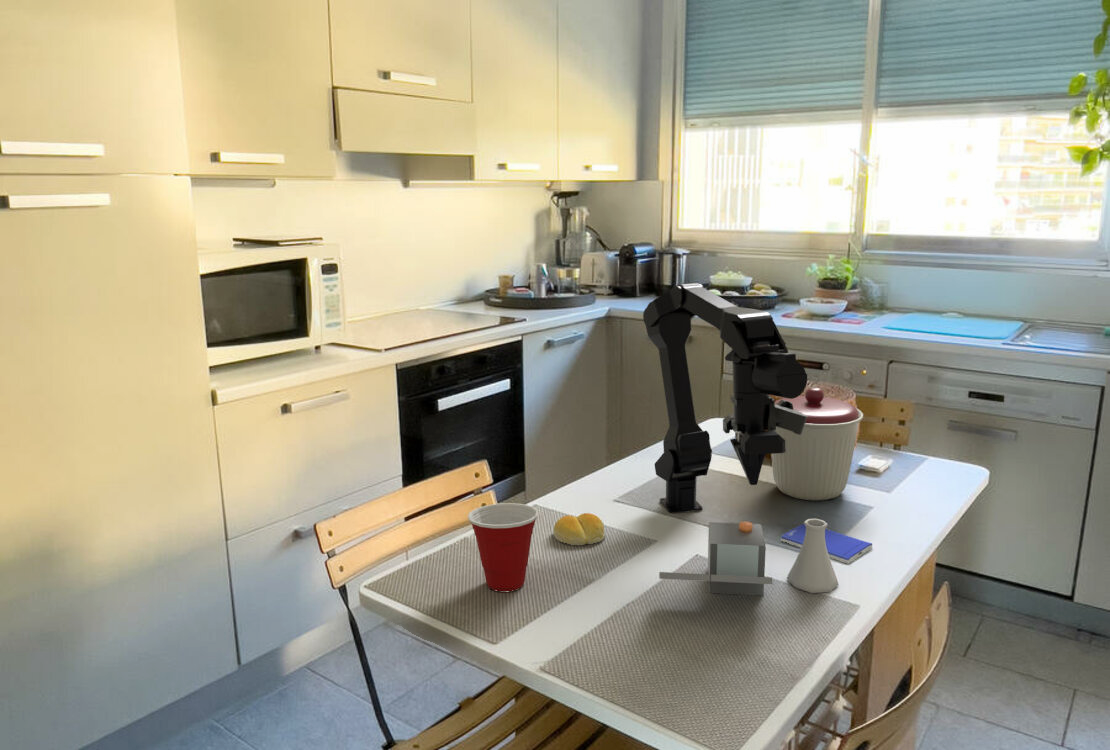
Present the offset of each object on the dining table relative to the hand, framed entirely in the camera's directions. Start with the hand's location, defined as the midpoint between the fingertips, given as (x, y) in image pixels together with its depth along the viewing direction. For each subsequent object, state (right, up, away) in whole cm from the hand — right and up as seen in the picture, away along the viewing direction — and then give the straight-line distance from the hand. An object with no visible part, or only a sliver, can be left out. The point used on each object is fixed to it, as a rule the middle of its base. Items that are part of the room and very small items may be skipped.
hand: (753, 484), depth 139 cm
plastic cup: (-40, -15, -7) cm, 43 cm away
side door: (-9, -12, -13) cm, 20 cm away
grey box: (-5, -14, -8) cm, 17 cm away
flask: (+7, -14, -8) cm, 18 cm away
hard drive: (+13, -12, +5) cm, 18 cm away
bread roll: (-28, -11, +10) cm, 32 cm away
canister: (+18, -5, +29) cm, 34 cm away
